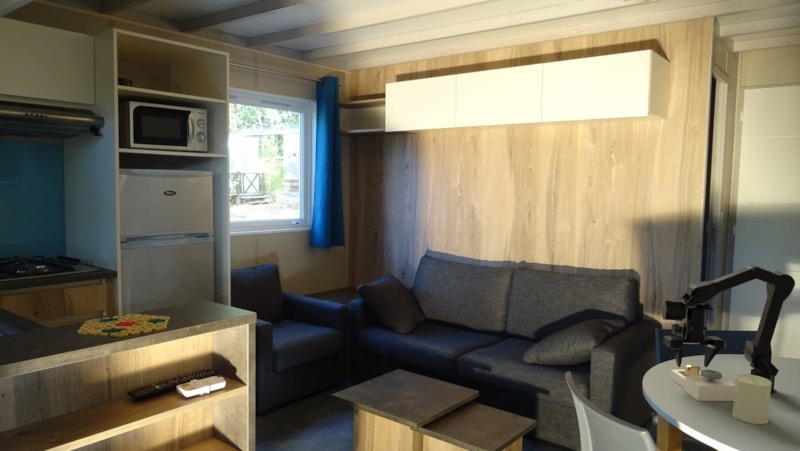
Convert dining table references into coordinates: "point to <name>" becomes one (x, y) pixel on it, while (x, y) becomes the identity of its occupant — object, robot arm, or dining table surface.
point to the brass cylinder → (692, 370)
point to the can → (751, 398)
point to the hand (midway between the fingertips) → (692, 366)
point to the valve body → (705, 385)
